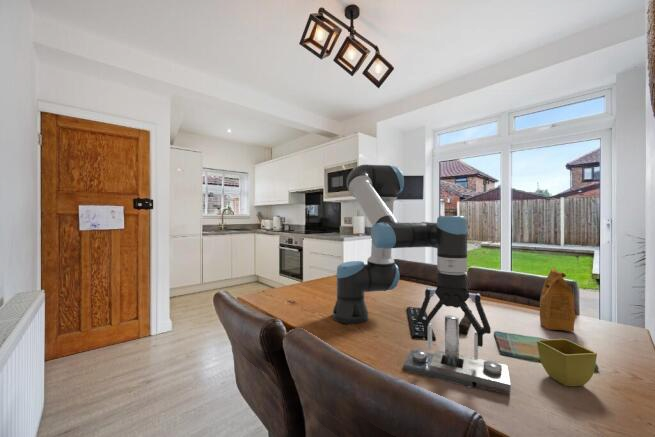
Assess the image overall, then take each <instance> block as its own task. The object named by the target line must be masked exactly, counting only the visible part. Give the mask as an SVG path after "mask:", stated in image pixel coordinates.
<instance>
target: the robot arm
mask: <svg viewBox="0 0 655 437" xmlns="http://www.w3.org/2000/svg"><path fill="white" fill-rule="evenodd" d="M404 187H405V179H404V174H403V172H402V170H401V169H400V168H399V167H398V166H395V165H390V164H389V165H385V164H361V165H358V166H357V167H354V168H353V169H352V170H351V171H349V174H348V175H347V177H346V188H347V192H349V194H350V196H352V197H353V198H355V199H356V201H357V202H358V204H359V206H360V208H361V209H362V211H363V213H364V214H365V217H366V218H367V220H368V221H369V223H370V225H371V230H370V238H371V247H370V248H371V249H370V250H371V251H370V256H369V257H368V258H367V264H365V263H364V261H362V260H352V261H351V260H350V261H346V262H342V263H340V264H338V266H337V269H336V275H335V276H336V300H335V303H334V308H333V310H332V319H334V321H336V322H339V323H343V324H351V325H352V324H355V325H356V324H362V323H365V322H367V321H368V320H369V310H368V308H367V305H366V301H365V293H370V292H387V291H391V290H394V289H395V288H397V286H398V284H399V281H400V269H399V266H398V264H396V262H395V260H394V259H393V257H392V249H403V248H406V249H407V248H409V249H410V248H433V249H435V248H436V249H437V251H436V259H437V260H436V262H437V265H436V269H437V270H438V272H437V273H436V280H437V281H436V282H437V284H436V288H431V287H429V286H428V287H426V289H425V291H424V298H423V302H422V305H421V307H420V308H421V310H420V312H419V315H418V317H417V321H418V322H422V323H423V324H424V336H428V340H427V350H430V351H431V350H432V347H433V340H432V329H433V323H432V322H431V321H432V319H433V318H434V316H436V314H437V313H438V312H439V310H440V309H441V308H442V307H443V306H445V307H447V308H449V307H452V308H454V309H455V308H456V309H459V308H460V309H461V311H462V312H463V314H465V315H466V316H467V318H468V319H469V321H470V322H471V324H470V325H471V326H472V327H473V328H474V333H473V334H474V335H473V336H474V337H473V338H474V339H473V340H474V341H473V342H474V343H473V346H474V347H473V348H474V349H473V350H474V351H473V354H474V357H473V358H474V359H475V360H478V359H479V357H478V356H479V353H478V352H479V347H481V348H482V347H483V345H484V344H483V343H484V341H483V339H484V337H483V336H484V335H485V334H488V335H489V334H491V332H492V331H491V326H490V323H489V320H488V317H487V316H486V313H485V311H484V308H483V305H482V303H481V294H480V293H479V292H476V293H472V292H469V290H468V274H467V272H468V232H469V230H468V223H467V218H466V217H465V216H463V215H441V216H440V215H439V216H438V217H437V220H436V222H429V221H422V222H399V221H398V220H397V219H398V218H396V217H395V216H394V202H395V201H396V200H397V199H398V195H399V194H401V193H402V191H403V190H404ZM434 294H435V295H436V296H437V298H438V299H439V300H438V301H437V303H436V304H435V305H434V307H433V308H432V310H430V313H429V314H427V317H426V318H424V317H423V316H424V314H425V311H427V308H428V305H429V303H430V301H431V298H432V297H434ZM468 299H470V300H471V301H472V303H475V308H476V311H477V314H478V316H479V319H480V321H481V323H482V326H483V327H482V326H481V325H480V323H479V321H478V320H477V319H476V317H475V315H474V314H473V312H471V311H472V310H471V309H470V307H469V306H468V304H467V301H468ZM470 310H471V311H470ZM429 322H430V323H429Z"/></svg>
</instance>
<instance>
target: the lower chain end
mask: <svg viewBox="0 0 655 437" xmlns="http://www.w3.org/2000/svg"><path fill="white" fill-rule="evenodd" d="M433 355H434V353H429V352H427V351H426V350H424V349H422V348H421V349H420V348H415V349H411V350H410V352H409V353H408V355H407V357H406V359H405V360H404V363H403V370H405V371H407V372H408V371H409V372H412V373H416V374H419V375H422V376H423V375H424V376H427V377H430V378H435V379H438V380H442V381H446V382H450V383H454V384H458V385H461V386H465V387H469V388H473V382H472V381H468V380H464V379H460V378H456V377H452V376H448V375H444V374H441V373H437V372H433V371H430V364H431V361H432V358H433ZM442 364H445V360H443V361H442ZM459 368H462V369H463V365H462V364H459Z"/></svg>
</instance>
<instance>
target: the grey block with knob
mask: <svg viewBox="0 0 655 437" xmlns="http://www.w3.org/2000/svg"><path fill="white" fill-rule="evenodd" d="M433 354H434V355H433V358H432V361H431V364H430V371H433V372H437V373H441V374H444V375H448V376H452V377H456V378H460V379H464V380H468V381H472V383H476V387H477V388H480V389H485V390H488V391H492V390H493V392H496V391H497V392H496V393H500V392H501V393H500V394H504V395H507V394H508V396H510V395H511V380H510V373H509V367H508V365H507V364H504V363H499V362H496V361H492V360H484V359H481V358H478V360H475V359H474V357H472V356H471V357H470V356H466V355H463V354H459V364H462V365H463V369H462V368H457V367H453V366H449V365H445V364H442V361H443V360H445V350H439V349H435V350H434V353H433Z"/></svg>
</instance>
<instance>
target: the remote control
mask: <svg viewBox="0 0 655 437" xmlns="http://www.w3.org/2000/svg"><path fill="white" fill-rule="evenodd" d="M420 310H421V307H414V306H413V307H411V306H407V307H406V311H407V316H408V321H409V327H410V332H411V335H412V336H411V337H412V339H418V340H427V341H428V336H424V324H423V323H422V322H418V321H417V317H418V315H419V312H420ZM426 311H427V310H426ZM426 311H425V314H424V316H423V317H424V318H426V317H427V316H428V314H427V312H426ZM429 323H431V321H430V322H429ZM436 337H437V336H436V335H435V333H434V329H433V328H432V341H436V340H437V339H436Z"/></svg>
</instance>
